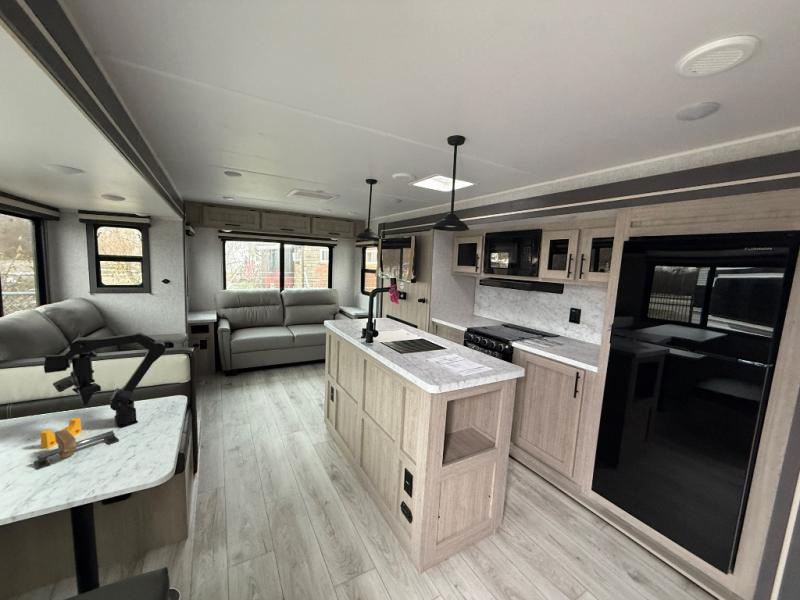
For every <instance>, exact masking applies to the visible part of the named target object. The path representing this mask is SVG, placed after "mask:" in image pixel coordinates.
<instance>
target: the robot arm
mask: <svg viewBox="0 0 800 600" xmlns="http://www.w3.org/2000/svg"><path fill="white" fill-rule="evenodd" d="M129 344H138V345H140V346H141V347H143V348H145V349H146V354H145V356H144V357H143V359H142V361H141V362H140V363H139V365H138V366H137V368H136V369H135V370H134V372H133V373H132V375H130V378H128V380H127V382H126V383H125V385H124V386H123V387H121V388H118V387H116V388H115V391H114V393H113V394H111V396H110V400H109V402H110V404H109V407H110V409H111V410H113V411H115V415H114V417H113V418H114V425H115V426H117V427H118V428H119V429H122V428H126V427H129V426H131V425H134V424H138V423H139V421H138V420H137V409H136V407H135V400H133V399H131V398H132V395H133V393H134V390H135V389H136V388H137V387H138V385H139V384H140V382H141V381H142V380H143V378H144V376H145V375H146V374H147V372H148V371H149V369H150V368H151V367H152V365H153V364H154V362H157V360H158V359H160V358H161V357H162V356H163V355H164V353H165V352H166V346H165V345H166V344H165V343H164V341H162V340H155V339H154V338H152V337H150V336H147V335H146V334H144V333H143V332H136V333H129V334H128V333H127V334H121V335H114V336H106V337H105V336H104V337H93V336H90V337H89V336H86V337H83V336H82V337H77V338H75V339H74V340H73V341H72V342H71V343H70V345H69V350H67V351H66V352H65V353H63V354H52V355H51V354H50V355H49V354H48V355H46V356H45V357H44V360H45V361H44V366H43V370H44V373H45V374H51V373H58V372H59V373H60V372H66V371H67V370H68V369H69V368H71V367H72V371H71V372H70V375H68V376H66V377H64V378H63V377H62V379H59V380H57V381H55V382H53V383H52V386H53V387H54V388H55V390H56V391H57V392H59V393H63V392H64V391H66V390H68V389H69V388H71V390H72V391H73V392H74V393H76V394H77V395H78V396H79V399H80V401H81V403H82V405H83V406H87V405H88V404H89V402H90V400H91V398H92V397H93V394H94V393H99V392H101V391H102V387H101V385H100V384H98V383H96V381H95V379H94V375H93V374H94V373H95V370H94V369H93V365H92V364H93V362H92V361H93V360H92V358H97V356H98V353H97V352H95V351H96V350H99V349H102V348H109V347H110V348H111V347H115V346H124V345H129ZM71 365H72V366H71ZM73 386H74V388H72V387H73Z"/></svg>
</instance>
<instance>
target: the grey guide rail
mask: <svg viewBox="0 0 800 600" xmlns="http://www.w3.org/2000/svg"><path fill="white" fill-rule="evenodd" d="M115 435H116V433H115V432H114V431H113V430H110V431H107V432H104V433H100V434H97V435H95V436H94V435H93V436H91V437H89V438H86V439H85V438H84V439H82V440H79V441H76V449H77V448H81V447H84V446H86V445H89V444H92V443H95V442H98V441H101V440H104V442H106V443H107V444H108V445H109V446H111V445H113V444H115V443H119V442H120V439H119V438H118V437H117V436H115ZM59 453H61V447H60V448H58V447H57V448H54V449H51V450H48V451H44V452H41V453H38V455H37V456H36V457H37V459H36V460H34V461H33V464H34V466H35V467H36V469H37V470H40V469H43V468H47V467H49V466H51V462H50V461H49V459H48V458H49V457H52V456H56V455H58V454H59ZM59 455H60V454H59Z"/></svg>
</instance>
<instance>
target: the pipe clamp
mask: <svg viewBox="0 0 800 600" xmlns="http://www.w3.org/2000/svg"><path fill="white" fill-rule="evenodd" d="M81 420H82V419H81V418H79V417H73V418H71V419H70V420H69V423H68V426H66V427H64V428H61V430H64V429H67V430H68V431H69V432H70V434H71V435H72V436H73V437H75V436H77V435H79V434H81V433H82V421H81ZM39 435H40V444H41V449H48V450H49V449H50V448H52V447H54V446H57V445H58V444H57V442H56V440H55V433H54V432H53V430H50V429H45V430H43V431H41V432H40V434H39ZM56 444H57V445H56Z"/></svg>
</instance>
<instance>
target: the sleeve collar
mask: <svg viewBox="0 0 800 600" xmlns="http://www.w3.org/2000/svg"><path fill="white" fill-rule="evenodd" d="M54 434H55V440H56V442H57V448H60V447H61V453H59V455H60V457H61V458H62V459H65V458H68V457H70V456H73V455H75V449H77V448H76V442H77V441H76V439H77V438H75V436H72V435H71V434H70V432H69V431H68V430H67V429H64V430H62V429H60V430H58V431H54Z"/></svg>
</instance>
